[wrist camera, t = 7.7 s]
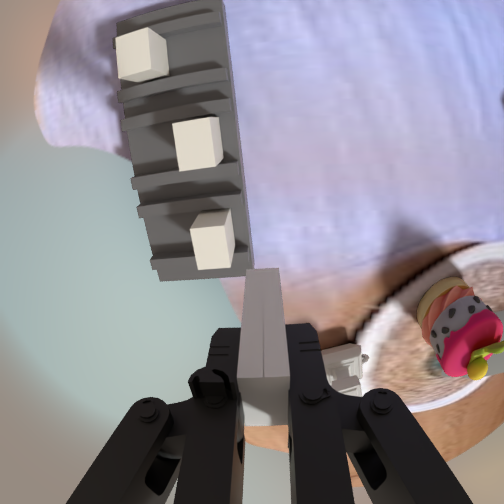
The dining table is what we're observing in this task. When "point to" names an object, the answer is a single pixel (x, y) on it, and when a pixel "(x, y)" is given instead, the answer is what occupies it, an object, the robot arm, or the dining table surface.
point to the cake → (459, 328)
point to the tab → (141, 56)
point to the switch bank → (163, 143)
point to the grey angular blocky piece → (344, 368)
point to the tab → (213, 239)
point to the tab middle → (198, 143)
